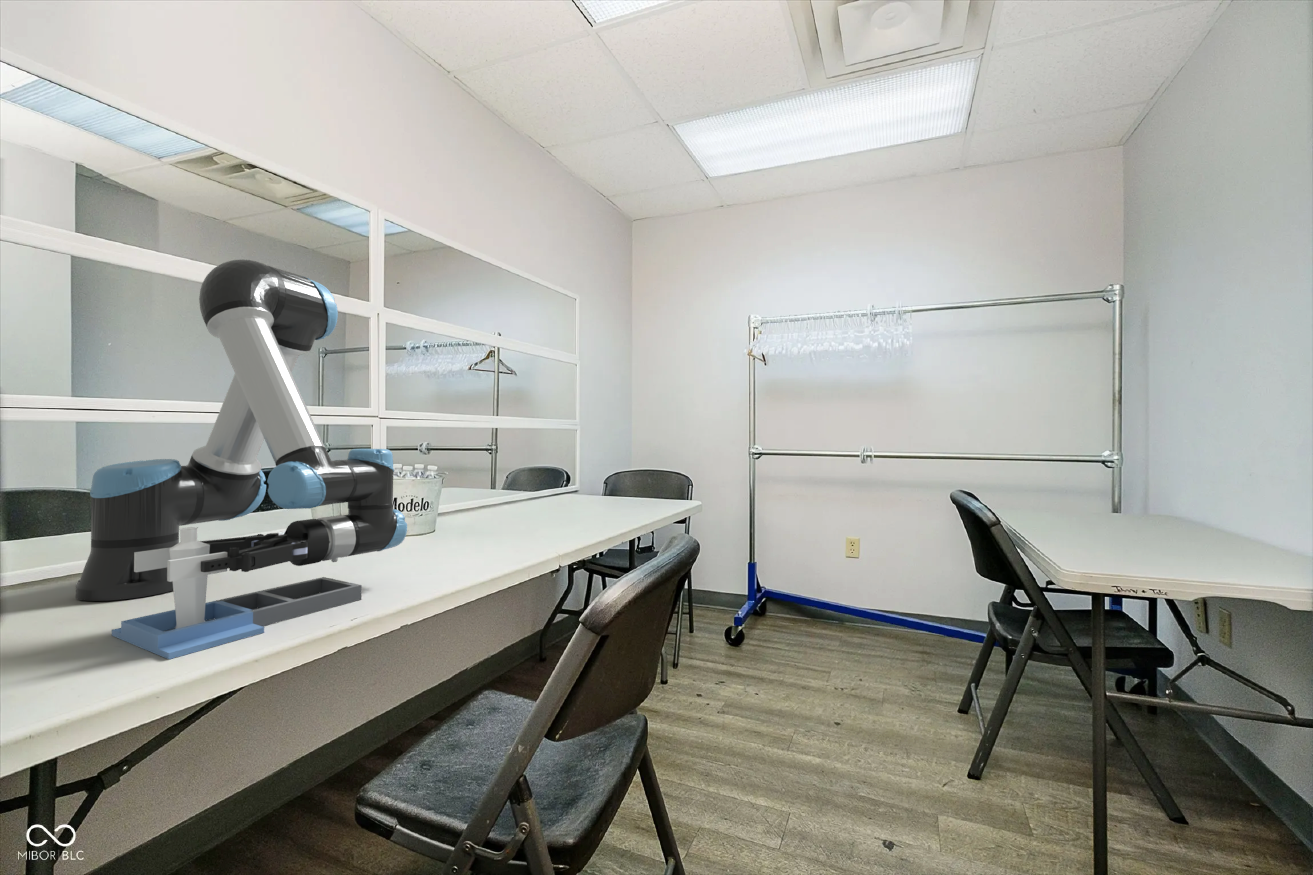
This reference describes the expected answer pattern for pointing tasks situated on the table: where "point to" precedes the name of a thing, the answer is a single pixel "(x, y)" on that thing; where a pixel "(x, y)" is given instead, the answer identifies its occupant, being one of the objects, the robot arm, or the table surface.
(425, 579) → the table surface
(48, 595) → the table surface
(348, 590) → the compartment sorting tray
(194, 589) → the perfume bottle
